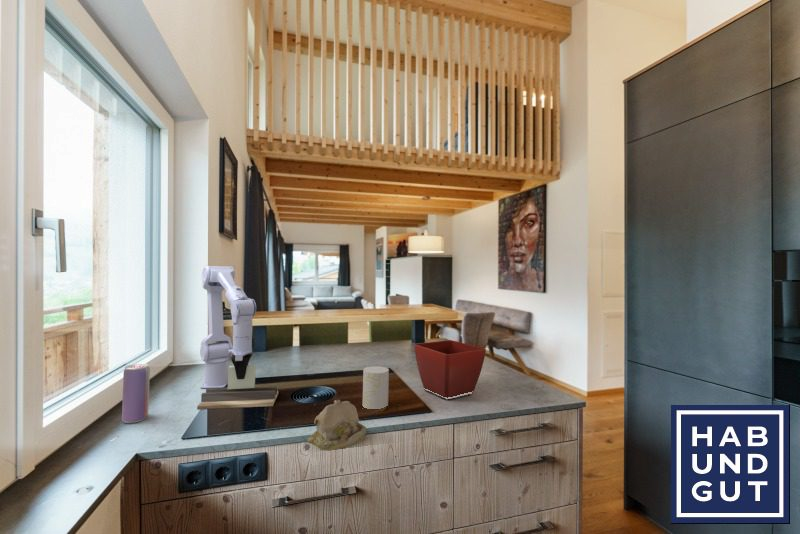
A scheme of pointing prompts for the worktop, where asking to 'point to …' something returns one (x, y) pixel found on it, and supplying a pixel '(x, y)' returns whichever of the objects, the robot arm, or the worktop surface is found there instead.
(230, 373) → the cream rectangular block
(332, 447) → the ceramic model
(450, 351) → the plant pot
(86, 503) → the worktop surface
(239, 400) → the base
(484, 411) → the worktop surface
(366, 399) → the white cylinder
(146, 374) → the beverage can
